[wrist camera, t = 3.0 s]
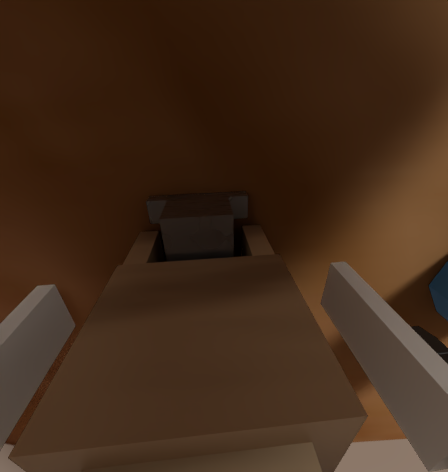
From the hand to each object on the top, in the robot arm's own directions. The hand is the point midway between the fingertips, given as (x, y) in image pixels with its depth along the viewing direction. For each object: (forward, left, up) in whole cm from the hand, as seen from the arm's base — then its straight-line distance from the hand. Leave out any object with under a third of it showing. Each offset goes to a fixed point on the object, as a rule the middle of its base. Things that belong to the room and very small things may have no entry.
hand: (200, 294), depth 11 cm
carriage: (+1, 0, -3) cm, 3 cm away
